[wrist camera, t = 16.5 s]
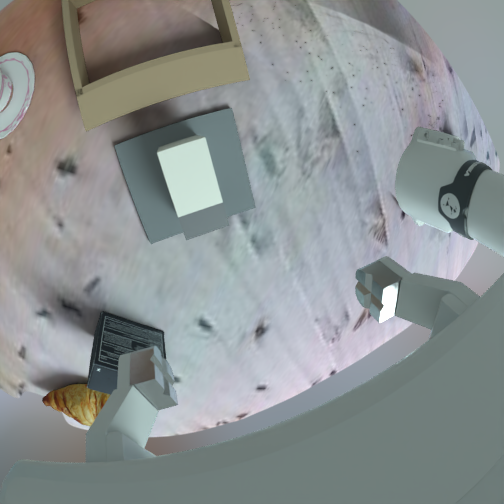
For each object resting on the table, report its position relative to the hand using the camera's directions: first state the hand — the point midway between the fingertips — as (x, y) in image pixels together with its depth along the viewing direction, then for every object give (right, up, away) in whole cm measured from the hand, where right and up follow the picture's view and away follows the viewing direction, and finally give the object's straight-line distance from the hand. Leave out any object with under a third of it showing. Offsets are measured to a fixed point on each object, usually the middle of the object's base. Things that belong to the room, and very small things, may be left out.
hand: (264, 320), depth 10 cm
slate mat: (-8, +12, +21) cm, 25 cm away
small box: (-20, -10, +28) cm, 36 cm away
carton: (-12, +29, +11) cm, 33 cm away
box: (-8, +11, +21) cm, 25 cm away
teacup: (-32, +22, +8) cm, 40 cm away
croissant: (-33, -27, +32) cm, 53 cm away
